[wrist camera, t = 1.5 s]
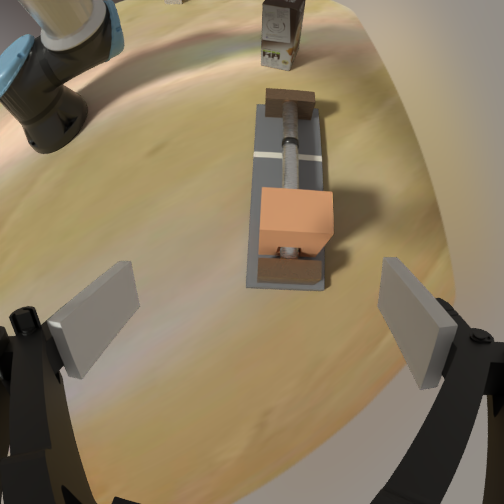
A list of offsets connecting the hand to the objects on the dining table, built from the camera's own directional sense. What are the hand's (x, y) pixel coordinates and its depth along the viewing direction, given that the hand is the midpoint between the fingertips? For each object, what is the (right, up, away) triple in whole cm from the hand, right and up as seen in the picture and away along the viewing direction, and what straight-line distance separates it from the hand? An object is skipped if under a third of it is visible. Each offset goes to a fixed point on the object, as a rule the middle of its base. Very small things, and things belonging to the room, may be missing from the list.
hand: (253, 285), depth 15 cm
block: (+5, +4, +29) cm, 29 cm away
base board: (+5, +12, +33) cm, 35 cm away
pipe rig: (+5, +12, +31) cm, 34 cm away
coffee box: (+6, +43, +41) cm, 60 cm away
